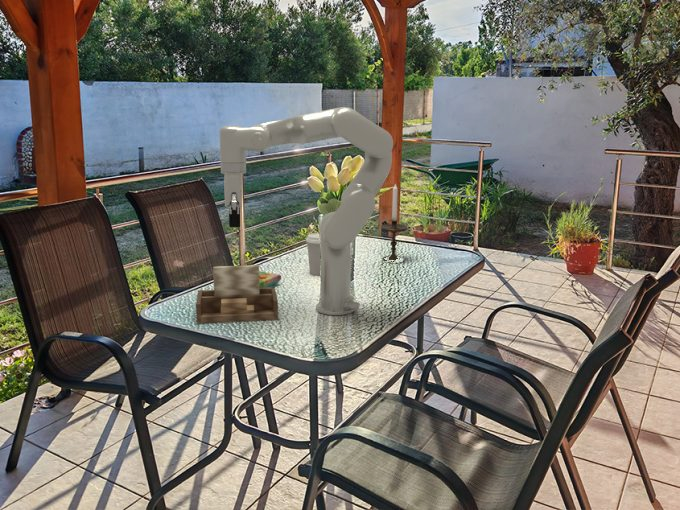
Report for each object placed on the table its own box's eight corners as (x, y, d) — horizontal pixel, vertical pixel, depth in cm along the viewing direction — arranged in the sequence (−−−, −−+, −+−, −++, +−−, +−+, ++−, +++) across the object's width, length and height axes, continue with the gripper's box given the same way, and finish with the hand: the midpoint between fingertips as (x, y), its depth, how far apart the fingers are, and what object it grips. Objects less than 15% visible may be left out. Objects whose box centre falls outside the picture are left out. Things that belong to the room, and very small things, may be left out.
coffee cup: (328, 277, 244) (328, 238, 241) (303, 276, 246) (303, 237, 242) (332, 270, 254) (333, 233, 250) (308, 269, 255) (308, 232, 251)
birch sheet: (259, 307, 208) (258, 265, 204) (259, 308, 206) (258, 266, 203) (215, 309, 205) (213, 266, 202) (214, 310, 204) (213, 267, 200)
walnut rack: (275, 307, 210) (274, 287, 209) (278, 322, 197) (277, 300, 195) (199, 311, 206) (198, 290, 205) (197, 326, 193) (196, 304, 191)
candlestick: (407, 264, 264) (410, 178, 255) (380, 264, 264) (382, 178, 255) (405, 257, 275) (407, 174, 266) (379, 257, 275) (381, 174, 266)
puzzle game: (281, 272, 234) (245, 286, 218) (281, 285, 235) (245, 299, 219) (255, 268, 240) (218, 281, 224) (255, 280, 241) (219, 294, 225)
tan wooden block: (253, 312, 203) (253, 297, 202) (254, 317, 198) (254, 302, 197) (221, 314, 201) (220, 298, 200) (221, 319, 197) (220, 303, 195)
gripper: (221, 164, 203) (222, 218, 207) (220, 171, 186) (221, 230, 190) (245, 164, 204) (246, 218, 208) (246, 171, 187) (247, 229, 191)
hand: (234, 223), depth 199 cm, fingers open, 9 cm apart
